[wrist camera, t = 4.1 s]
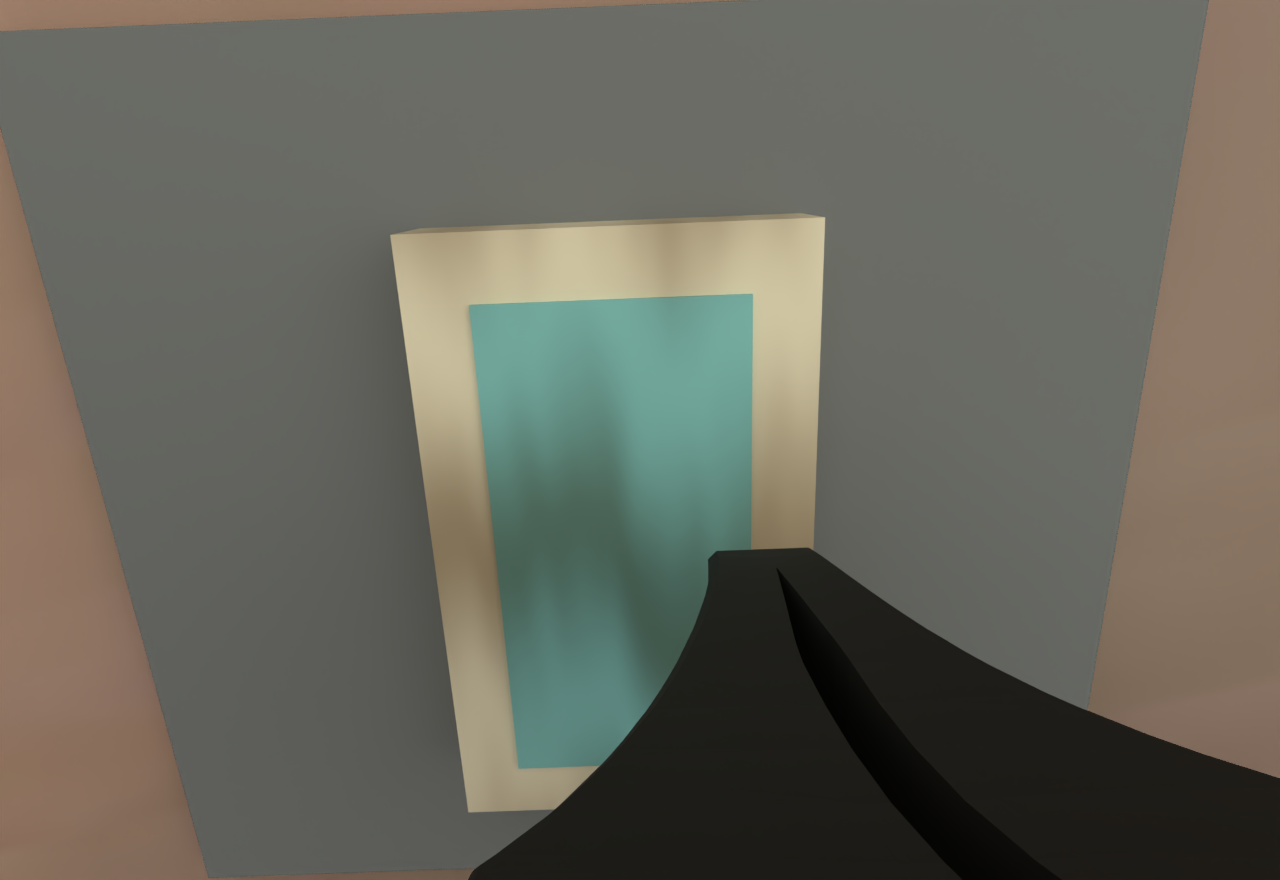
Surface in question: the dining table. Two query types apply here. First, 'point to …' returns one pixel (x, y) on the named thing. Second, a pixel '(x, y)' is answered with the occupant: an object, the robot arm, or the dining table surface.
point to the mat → (560, 193)
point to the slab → (599, 460)
